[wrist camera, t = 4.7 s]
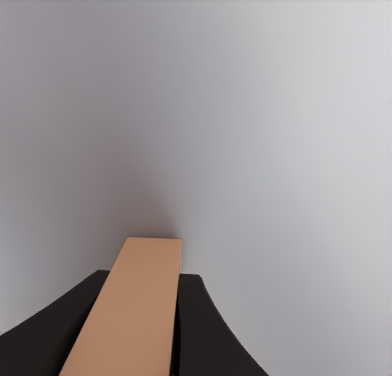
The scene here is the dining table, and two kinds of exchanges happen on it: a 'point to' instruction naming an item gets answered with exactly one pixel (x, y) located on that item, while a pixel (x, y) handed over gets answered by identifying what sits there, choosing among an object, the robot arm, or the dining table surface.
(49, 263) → the dining table surface
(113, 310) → the tall wooden plank
